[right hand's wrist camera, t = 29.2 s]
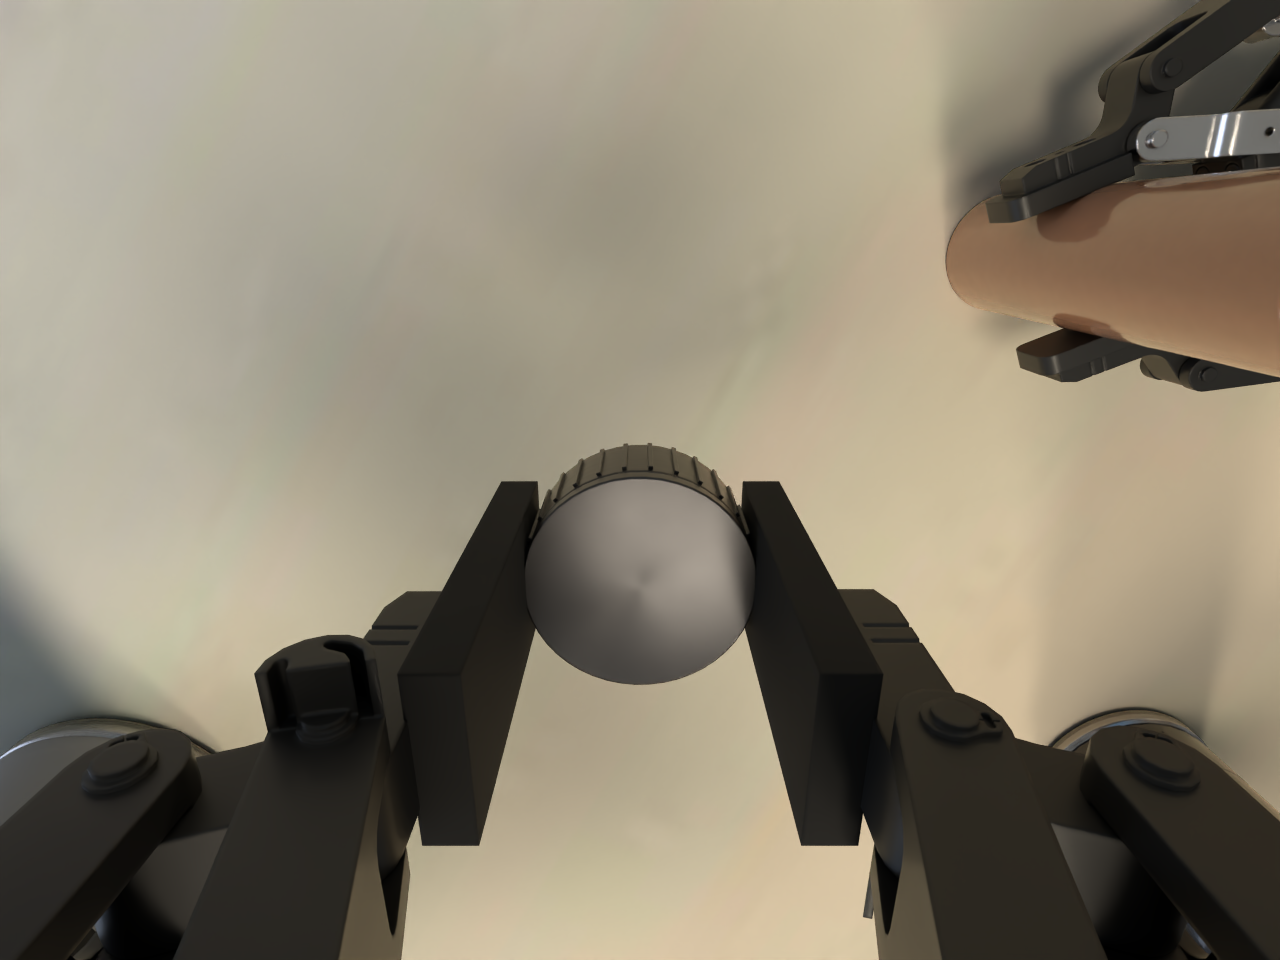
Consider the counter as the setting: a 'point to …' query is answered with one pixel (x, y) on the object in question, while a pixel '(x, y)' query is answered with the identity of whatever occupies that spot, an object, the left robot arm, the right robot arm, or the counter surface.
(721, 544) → the cap
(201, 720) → the counter surface
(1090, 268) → the bottle
